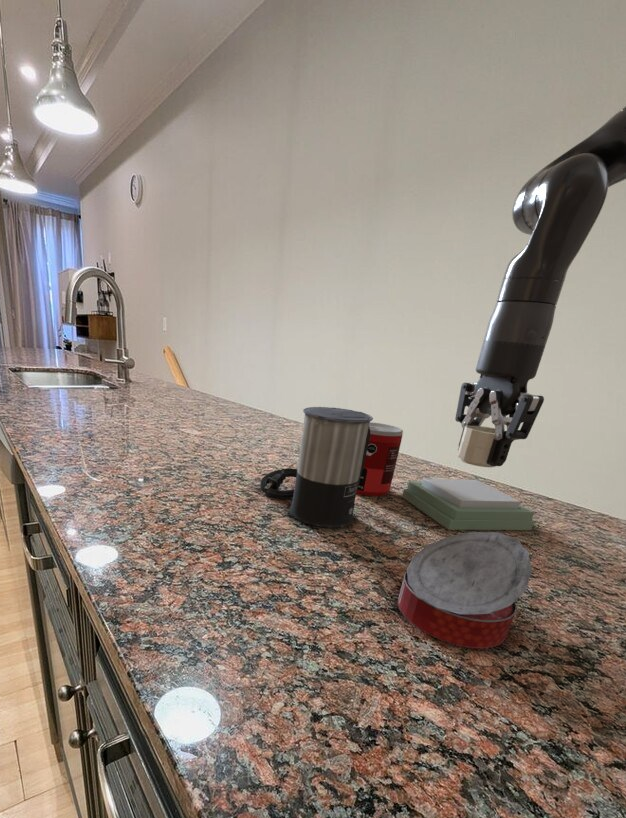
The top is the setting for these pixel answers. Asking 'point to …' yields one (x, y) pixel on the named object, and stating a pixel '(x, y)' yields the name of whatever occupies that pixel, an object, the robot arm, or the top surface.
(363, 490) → the canned food
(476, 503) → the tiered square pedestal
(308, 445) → the milk frother
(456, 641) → the canned food
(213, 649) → the top surface
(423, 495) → the scale
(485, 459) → the beige short cylinder
